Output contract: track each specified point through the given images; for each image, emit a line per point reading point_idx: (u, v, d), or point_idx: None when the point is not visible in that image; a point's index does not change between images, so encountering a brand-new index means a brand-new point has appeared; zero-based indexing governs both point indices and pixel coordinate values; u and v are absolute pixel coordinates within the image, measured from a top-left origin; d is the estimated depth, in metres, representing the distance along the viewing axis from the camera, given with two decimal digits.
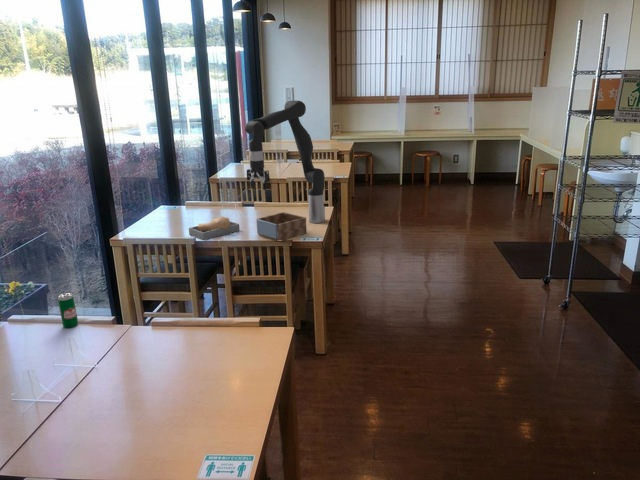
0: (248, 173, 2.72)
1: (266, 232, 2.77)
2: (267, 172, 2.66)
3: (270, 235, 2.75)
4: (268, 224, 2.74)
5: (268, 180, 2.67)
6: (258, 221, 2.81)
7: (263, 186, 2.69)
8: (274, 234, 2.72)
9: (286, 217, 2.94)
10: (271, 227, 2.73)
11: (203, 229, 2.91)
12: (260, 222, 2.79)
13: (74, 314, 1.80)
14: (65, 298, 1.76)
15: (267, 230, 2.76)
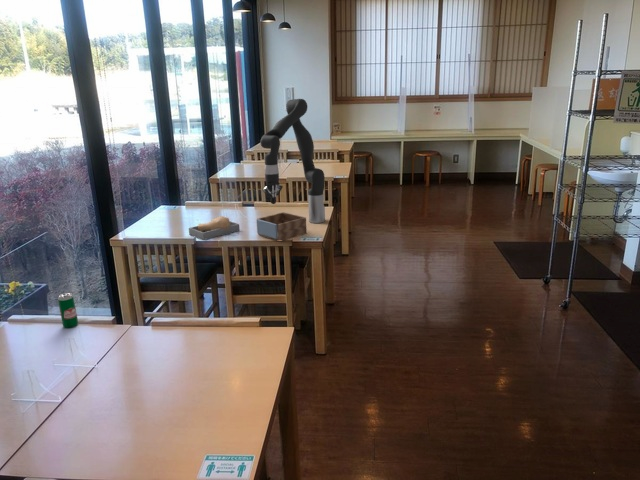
0: (267, 190, 2.71)
1: (266, 232, 2.77)
2: None
3: (270, 235, 2.75)
4: (268, 224, 2.74)
5: None
6: (258, 221, 2.81)
7: (275, 200, 2.76)
8: (274, 234, 2.72)
9: (286, 217, 2.94)
10: (271, 227, 2.73)
11: (203, 229, 2.91)
12: (260, 222, 2.79)
13: (74, 314, 1.80)
14: (65, 298, 1.76)
15: (267, 230, 2.76)
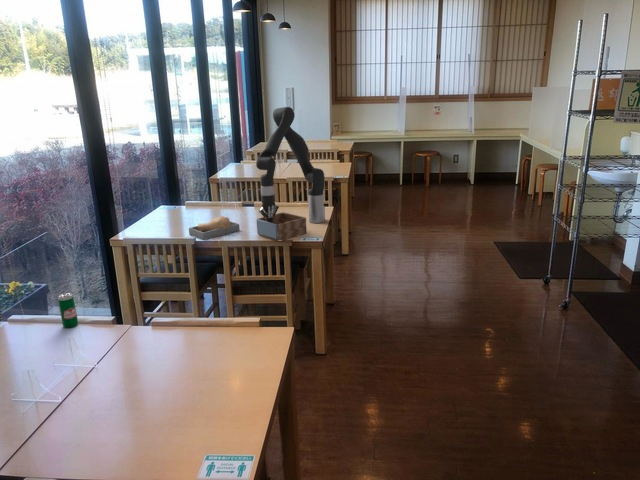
0: None
1: (266, 232, 2.77)
2: None
3: (270, 235, 2.75)
4: (268, 224, 2.74)
5: None
6: (258, 221, 2.81)
7: (271, 220, 2.77)
8: (274, 234, 2.72)
9: (286, 217, 2.94)
10: (271, 227, 2.73)
11: (203, 229, 2.91)
12: (260, 222, 2.79)
13: (74, 314, 1.80)
14: (65, 298, 1.76)
15: (267, 230, 2.76)
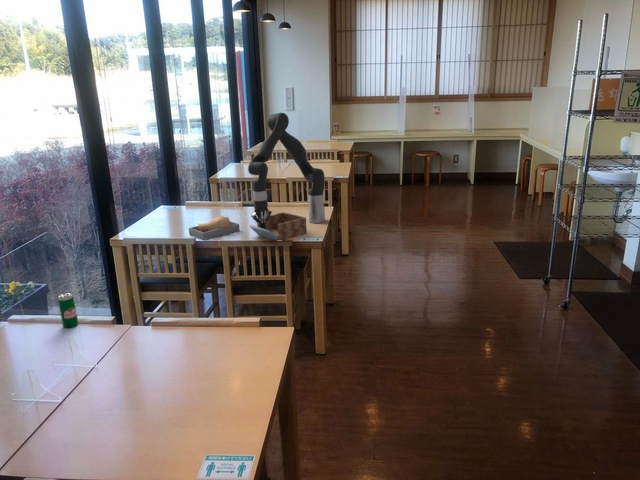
0: (256, 217, 2.69)
1: (265, 235, 2.77)
2: None
3: (269, 237, 2.75)
4: (262, 231, 2.72)
5: None
6: (251, 227, 2.79)
7: (264, 226, 2.74)
8: (272, 237, 2.72)
9: (286, 217, 2.94)
10: (265, 232, 2.71)
11: (203, 229, 2.91)
12: (254, 228, 2.77)
13: (74, 314, 1.80)
14: (65, 298, 1.76)
15: (264, 234, 2.75)
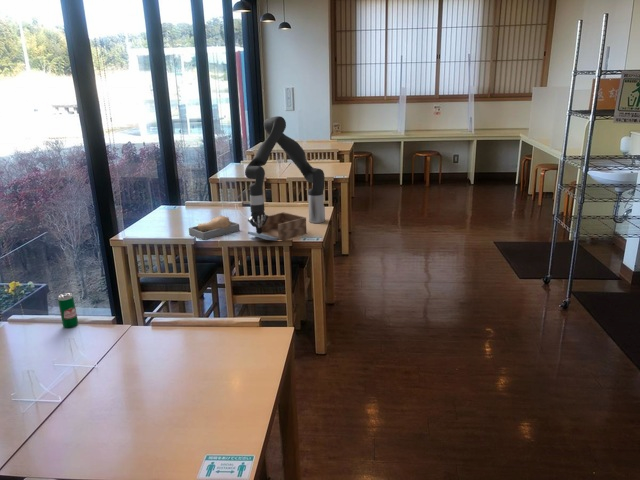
0: None
1: None
2: None
3: None
4: (260, 237, 2.72)
5: None
6: (250, 234, 2.79)
7: (261, 230, 2.73)
8: (272, 239, 2.72)
9: (286, 217, 2.94)
10: None
11: (203, 229, 2.91)
12: None
13: (74, 314, 1.80)
14: (65, 298, 1.76)
15: None
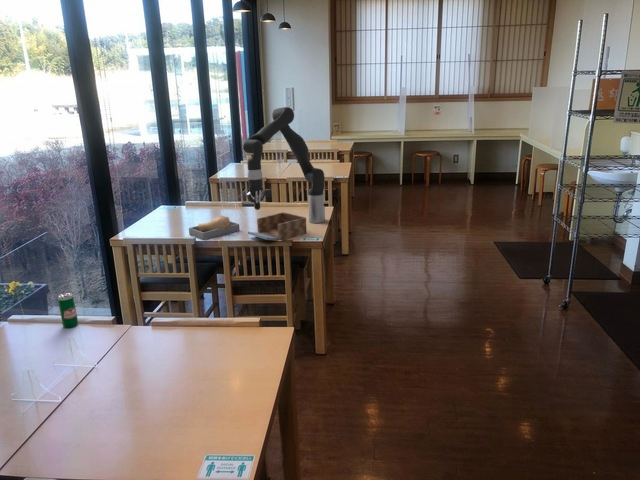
0: None
1: None
2: None
3: None
4: (260, 237, 2.72)
5: None
6: (250, 234, 2.79)
7: (259, 206, 2.69)
8: (272, 239, 2.72)
9: (286, 217, 2.94)
10: None
11: (203, 229, 2.91)
12: None
13: (74, 314, 1.80)
14: (65, 298, 1.76)
15: None
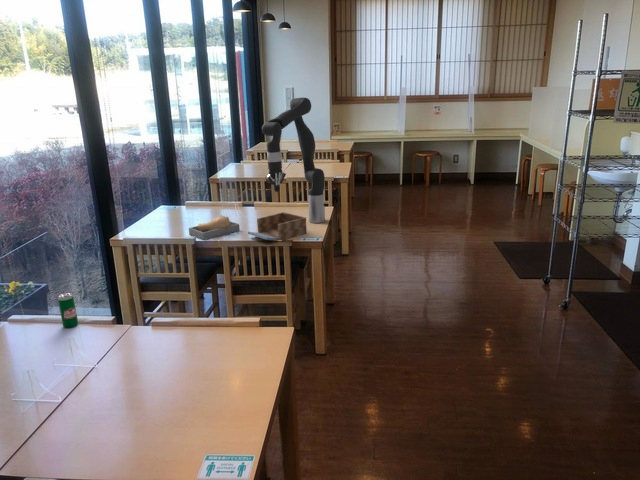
0: None
1: None
2: None
3: None
4: (260, 237, 2.72)
5: None
6: (250, 234, 2.79)
7: (278, 188, 2.73)
8: (272, 239, 2.72)
9: (286, 217, 2.94)
10: None
11: (203, 229, 2.91)
12: None
13: (74, 314, 1.80)
14: (65, 298, 1.76)
15: None
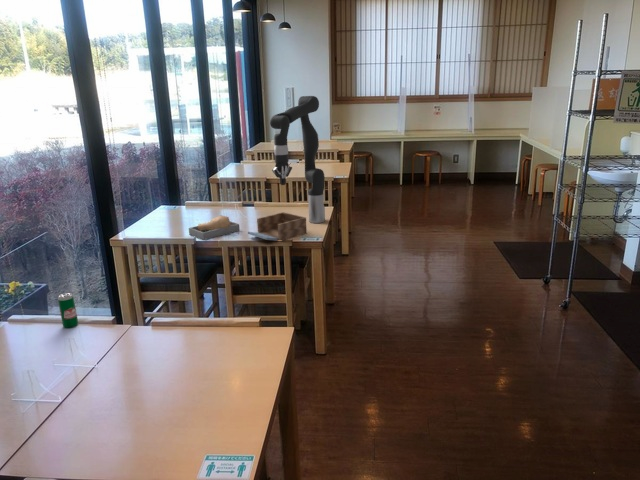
0: (277, 171, 2.69)
1: None
2: None
3: None
4: (260, 237, 2.72)
5: None
6: (250, 234, 2.79)
7: (284, 181, 2.74)
8: (272, 239, 2.72)
9: (286, 217, 2.94)
10: None
11: (203, 228, 2.91)
12: None
13: (74, 314, 1.80)
14: (65, 298, 1.76)
15: None
